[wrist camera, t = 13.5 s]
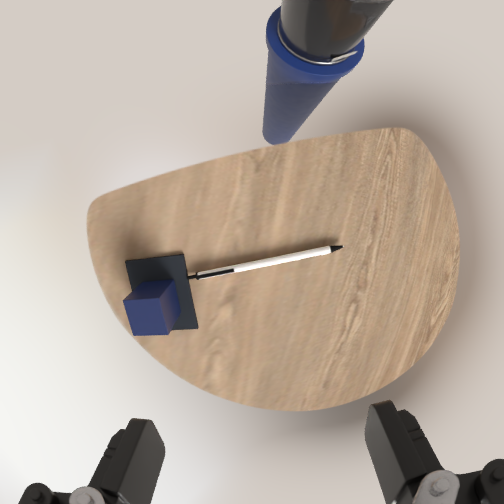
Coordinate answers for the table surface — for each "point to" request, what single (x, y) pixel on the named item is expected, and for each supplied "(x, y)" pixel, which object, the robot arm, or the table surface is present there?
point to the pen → (265, 262)
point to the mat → (166, 271)
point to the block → (153, 308)
